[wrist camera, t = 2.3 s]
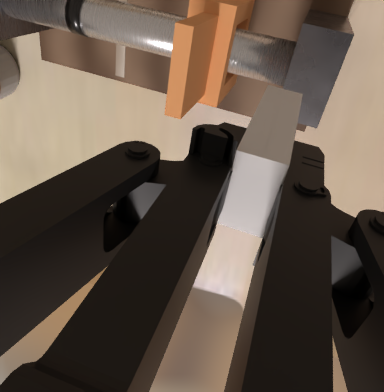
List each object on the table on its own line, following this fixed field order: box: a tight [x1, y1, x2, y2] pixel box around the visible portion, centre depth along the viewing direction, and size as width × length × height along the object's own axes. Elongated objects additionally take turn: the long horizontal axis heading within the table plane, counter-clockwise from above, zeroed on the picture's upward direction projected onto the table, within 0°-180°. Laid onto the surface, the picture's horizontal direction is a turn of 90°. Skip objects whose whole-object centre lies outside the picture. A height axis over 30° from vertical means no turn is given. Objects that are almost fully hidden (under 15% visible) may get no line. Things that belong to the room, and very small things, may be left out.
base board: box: [39, 0, 354, 131], centre depth 32 cm, size 29×14×2 cm, turn 82°
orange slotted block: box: [165, 0, 255, 119], centre depth 23 cm, size 3×6×11 cm, turn 172°
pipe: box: [0, 0, 354, 128], centre depth 28 cm, size 29×6×9 cm, turn 82°
